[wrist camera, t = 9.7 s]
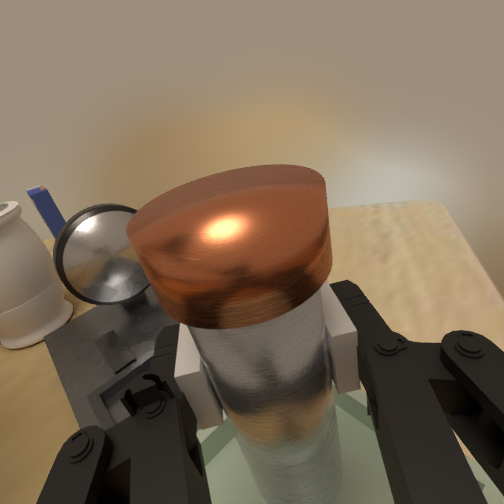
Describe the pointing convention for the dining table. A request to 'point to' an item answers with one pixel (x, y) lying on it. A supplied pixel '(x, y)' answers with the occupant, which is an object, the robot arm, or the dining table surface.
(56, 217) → the walkman
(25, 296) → the jar
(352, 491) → the tray
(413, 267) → the dining table surface
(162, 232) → the copper-capped metal cylinder
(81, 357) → the pulley plate
